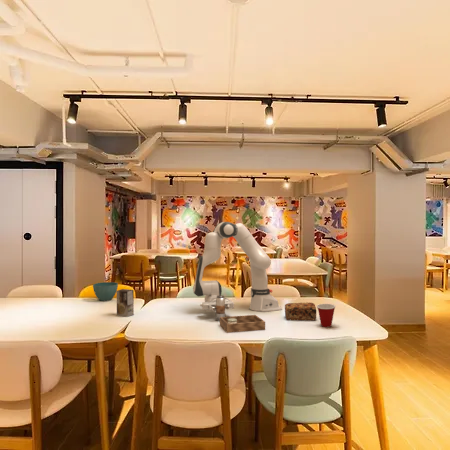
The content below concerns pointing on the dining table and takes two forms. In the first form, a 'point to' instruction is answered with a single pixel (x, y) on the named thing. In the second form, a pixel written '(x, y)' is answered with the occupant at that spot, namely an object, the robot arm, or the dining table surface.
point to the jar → (232, 320)
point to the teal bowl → (105, 290)
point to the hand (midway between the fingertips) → (220, 308)
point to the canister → (220, 307)
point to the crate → (242, 323)
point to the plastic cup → (326, 314)
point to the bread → (300, 311)
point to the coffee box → (125, 302)
